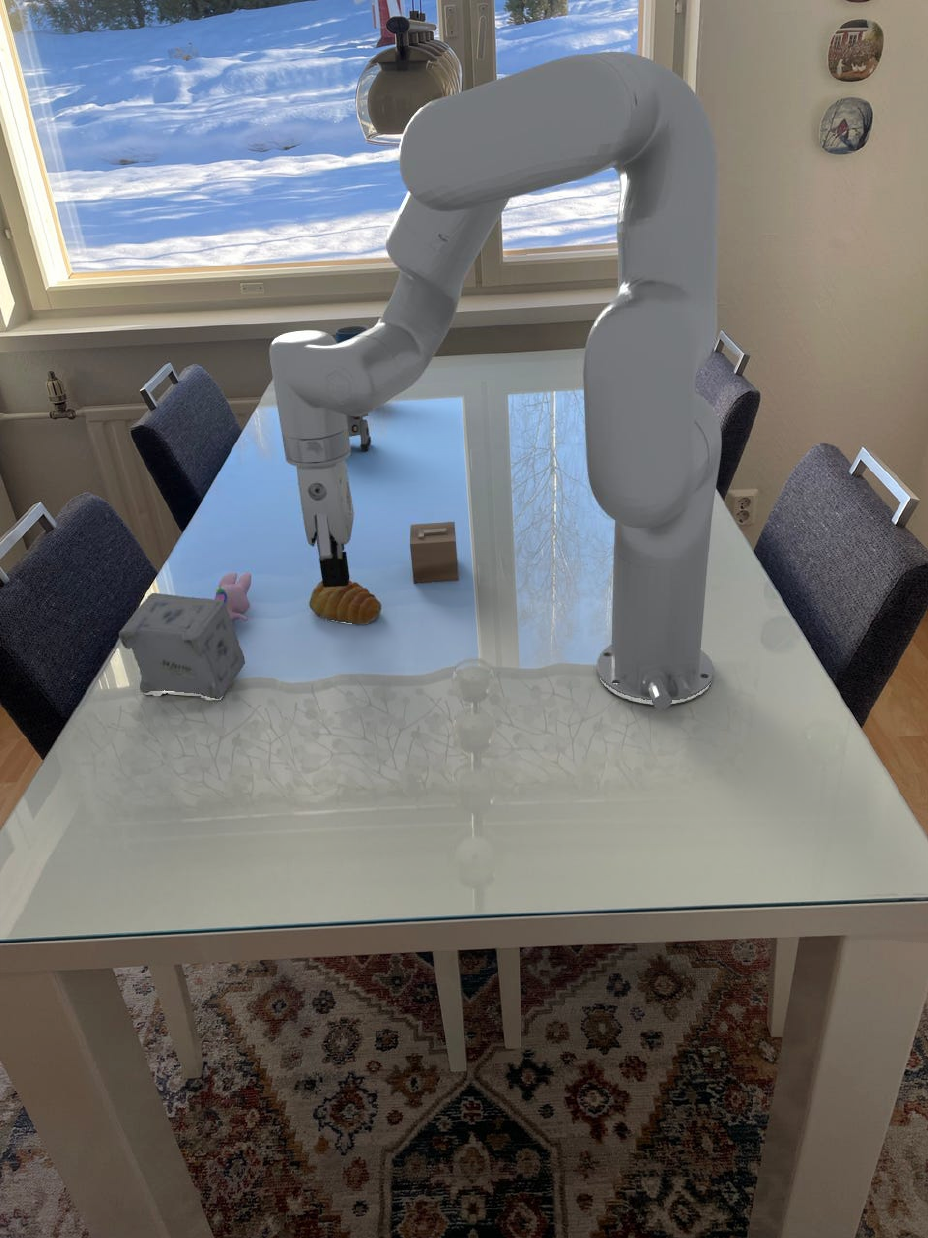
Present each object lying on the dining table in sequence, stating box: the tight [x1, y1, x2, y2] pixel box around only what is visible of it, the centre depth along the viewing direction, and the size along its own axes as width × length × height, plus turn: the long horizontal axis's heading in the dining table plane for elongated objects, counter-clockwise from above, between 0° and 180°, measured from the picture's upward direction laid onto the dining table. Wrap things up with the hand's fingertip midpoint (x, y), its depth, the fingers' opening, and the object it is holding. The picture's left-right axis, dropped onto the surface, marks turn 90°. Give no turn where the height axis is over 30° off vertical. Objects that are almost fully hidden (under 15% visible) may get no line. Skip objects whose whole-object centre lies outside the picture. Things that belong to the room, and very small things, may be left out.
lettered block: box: [409, 521, 459, 585], centre depth 126 cm, size 6×6×6 cm
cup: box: [335, 324, 370, 344], centre depth 191 cm, size 7×7×15 cm
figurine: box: [346, 413, 372, 452], centre depth 170 cm, size 9×12×15 cm
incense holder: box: [118, 592, 246, 699], centre depth 105 cm, size 10×8×10 cm
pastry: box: [308, 579, 382, 625], centre depth 119 cm, size 9×7×4 cm
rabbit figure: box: [213, 572, 252, 628], centre depth 119 cm, size 6×6×15 cm
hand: (336, 583), depth 117 cm, fingers closed
